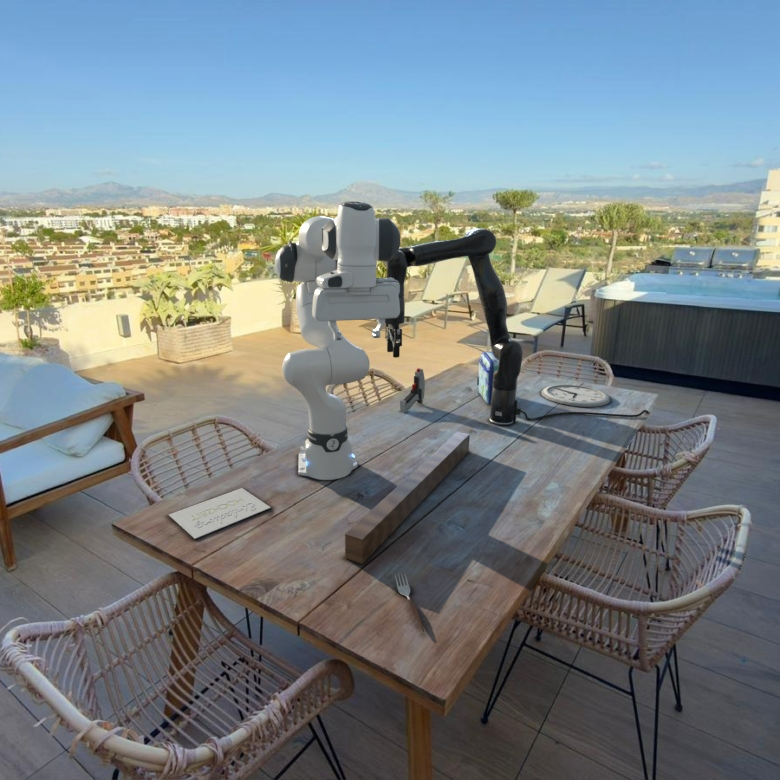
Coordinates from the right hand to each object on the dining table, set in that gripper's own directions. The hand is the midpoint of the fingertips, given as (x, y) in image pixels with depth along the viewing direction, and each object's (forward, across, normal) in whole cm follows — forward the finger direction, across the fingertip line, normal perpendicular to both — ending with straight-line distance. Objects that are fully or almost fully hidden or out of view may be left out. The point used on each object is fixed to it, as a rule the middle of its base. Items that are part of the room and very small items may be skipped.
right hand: (393, 354), depth 187 cm
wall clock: (+29, +23, -93) cm, 100 cm away
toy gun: (+29, +23, -15) cm, 40 cm away
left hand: (-19, -59, +24) cm, 66 cm away
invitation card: (+29, -47, +59) cm, 81 cm away
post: (+29, -49, +5) cm, 57 cm away
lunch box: (+29, +27, -53) cm, 66 cm away
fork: (+29, -93, +20) cm, 99 cm away
